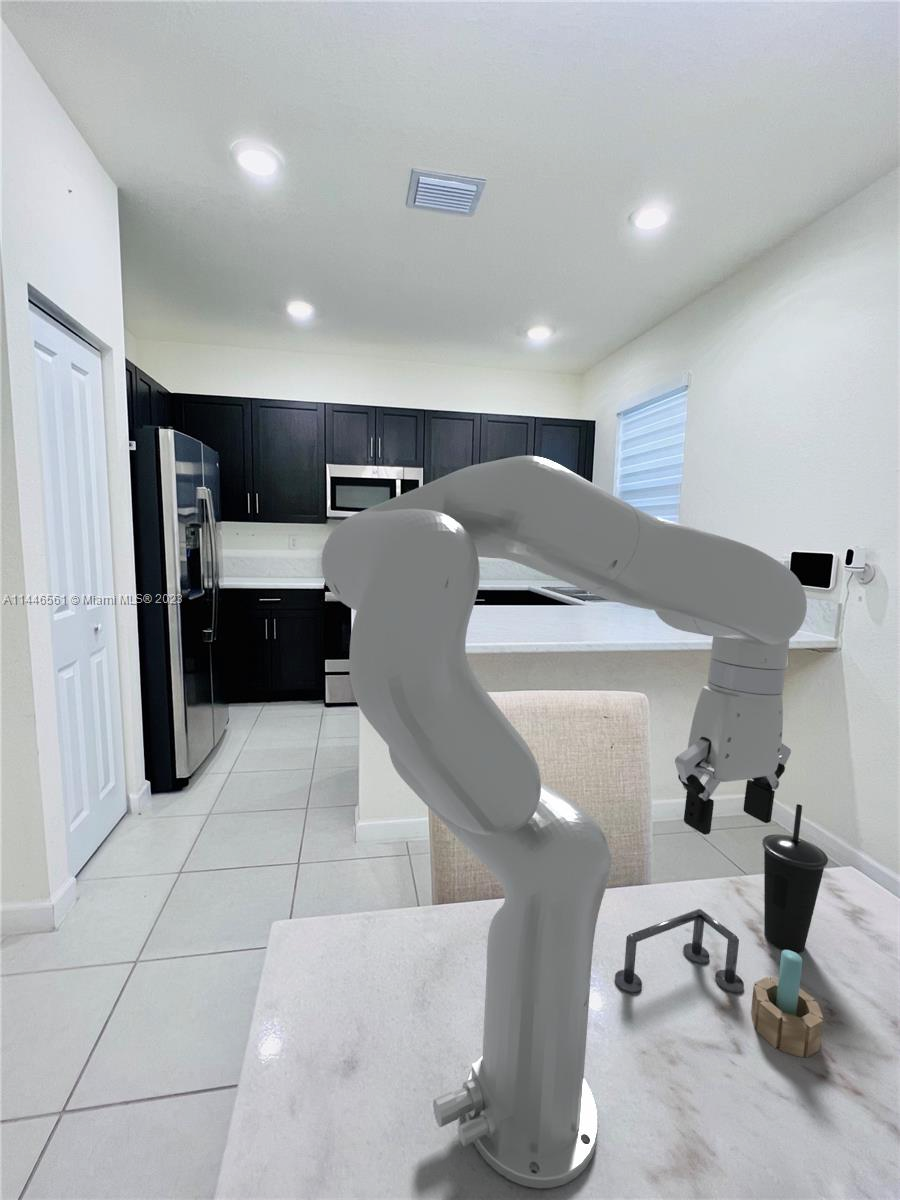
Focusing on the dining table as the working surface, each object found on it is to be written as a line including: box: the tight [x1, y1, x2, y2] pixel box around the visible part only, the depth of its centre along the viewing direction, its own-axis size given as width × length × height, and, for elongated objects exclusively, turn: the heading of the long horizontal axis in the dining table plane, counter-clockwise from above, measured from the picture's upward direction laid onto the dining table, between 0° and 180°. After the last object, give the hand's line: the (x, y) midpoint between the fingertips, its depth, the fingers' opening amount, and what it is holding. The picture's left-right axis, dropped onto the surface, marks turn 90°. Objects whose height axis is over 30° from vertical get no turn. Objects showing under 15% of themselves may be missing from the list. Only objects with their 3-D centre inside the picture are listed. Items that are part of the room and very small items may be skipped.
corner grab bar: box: [614, 908, 745, 995], centre depth 67 cm, size 15×8×6 cm, turn 115°
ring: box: [750, 976, 824, 1059], centre depth 61 cm, size 6×6×4 cm
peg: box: [776, 950, 803, 1016], centre depth 61 cm, size 3×3×9 cm
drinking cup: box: [761, 803, 829, 954], centre depth 74 cm, size 8×8×20 cm
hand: (727, 822), depth 62 cm, fingers open, 9 cm apart
